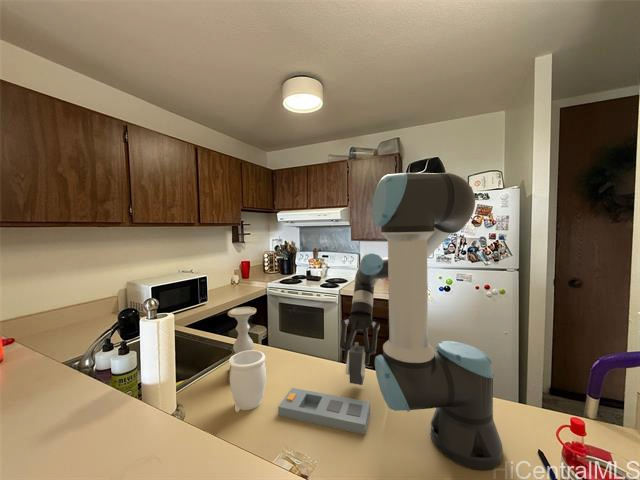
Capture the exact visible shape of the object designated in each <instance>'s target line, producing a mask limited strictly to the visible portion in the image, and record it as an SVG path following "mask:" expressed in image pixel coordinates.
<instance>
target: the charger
mask: <svg viewBox="0 0 640 480" xmlns="http://www.w3.org/2000/svg"><path fill="white" fill-rule="evenodd" d="M363 352H365V345H363V346H362V345H359V342H358V341H355V342H354V344H352V346H351V348H350V351H349V375H348V376H349V384H354V385H359V386H363V383H364V380H365V376H366V375H365V376H364V377H362V376H361V367H362V356H363Z"/></svg>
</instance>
